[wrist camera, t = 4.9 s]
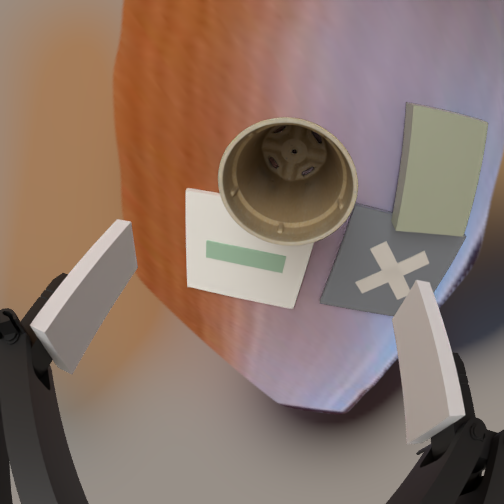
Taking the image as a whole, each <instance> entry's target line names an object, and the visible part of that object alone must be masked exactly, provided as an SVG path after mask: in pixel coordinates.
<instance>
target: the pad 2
mask: <svg viewBox="0 0 504 504" xmlns="http://www.w3.org/2000/svg"><path fill="white" fill-rule="evenodd" d="M392 214H393V212H389V211H385V210H381V209H378V208H374V207H370V206H366V205H362V204H358V203H355V205H354V208H353V211H352V214H351V217H350V220H349V223H348V226H347V228H346V231H345V234H344V237H343V240H342V243H341V245H340V248H339V251H338V254H337V256H336V259H335V262H334V265H333V267H332V270H331V272H330V275H329V278H328V280H327V283H326V285H325V288H324V290H323V293H322V296H321V298H320V303H321V304H326V305H331V306H337V307H342V308H348V309H354V310H359V311H365V312H371V313H377V314H383V315H389V316H395V314H396V312H397V311H398V309H399V308H400V306H401V304H402V303H403V301H404V300H405V298H406V296H407V295H408V293H409V291H410V290H411V288H412V286H413V285H414V283H415V281H416V280H420V281H425V282H430V285H431V288H432V291H433V293H434V291H435V289H436V288H437V286H438V285H439V283H440V282H441V280H442V278H443V277H444V275H445V273H446V272H447V270H448V268H449V267H450V265H451V263H452V262H453V260H454V258H455V256H456V255H457V253H458V251H459V249H460V247H461V246H462V244H463V242H464V240H465V238H466V236H465V234H464V235H463V237H461V236H451V235H440V234H429V233H418V232H406V231H396V230H395V228H394V226H393V223H392V221H391V219H392Z"/></svg>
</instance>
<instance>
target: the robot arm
mask: <svg viewBox="0 0 504 504" xmlns="http://www.w3.org/2000/svg"><path fill="white" fill-rule="evenodd" d="M137 268H138V266H137V260H136V254H135V247H134V240H133V233H132V225H131V222H129V221H124V220H119V219H117V220H116V221H115V222H114V223H113V224H112V225H111V226H110V228H109V229H108V230H107V231H106V232H105V233H104V234H103V235H102V236H101V237H100V238H99V240H98V241H97V242H96V243H95V244H94V245H93V246H92V247H91V249H90V250H89V251H88V252H87V253H86V254H85V255H84V257H83V258H82V259H81V260H80V261H79V262H78V264H77V265H76V266H75V267H74V268H73V270H72V271H71V272H70V273H69V274H65V273H62V274H61V275H59V276H58V277H56V278H55V279H53V280H52V282H51V283H50V284H49V286H48V287H47V288H46V290H44V292H43V293H42V294H41V297H39V298H38V299H37V301H36V302H35V303H34V304H33V306H32V307H31V308H30V310H29V311H28V312H27V314H26V315H25V317H24V318H23V319H22V321H21V322H20V320H19V319H18V317H17V315H16V314H15V312H14V311H13V310H11V309H9V308H7V309H2V310H0V504H13V503H12V495H11V484H10V466H9V461H10V465H11V469H12V474H13V477H14V481H15V485H16V488H17V492H18V495H19V498H20V502H21V504H88V501H87V499H86V497H85V494H84V491H83V489H82V486H81V483H80V481H79V478H78V476H77V472H76V469H75V467H74V464H73V460H72V457H71V454H70V451H69V448H68V444H67V440H66V437H65V433H64V429H63V425H62V421H61V417H60V412H59V408H58V403H57V398H56V393H55V388H54V382H53V376H52V370H51V367H50V363H51V362H52V360H53V361H54V363H55V364H56V365H57V367H58V368H60V369H62V370H64V371H66V372H68V373H70V374H73V372H74V370H75V368H76V366H77V365H78V363H79V361H80V360H81V358H82V356H83V354H84V352H85V351H86V349H87V347H88V346H89V344H90V342H91V340H92V339H93V337H94V335H95V334H96V332H97V330H98V328H99V327H100V325H101V324H102V322H103V320H104V319H105V317H106V316H107V314H108V312H109V311H110V309H111V308H112V306H113V304H114V303H115V301H116V300H117V298H118V297H119V295H120V294H121V292H122V290H123V289H124V287H125V286H126V284H127V283H128V281H129V279H130V278H131V277H132V275H133V274H134V272H135V271H136V269H137ZM392 322H393V328H394V333H395V339H396V345H397V351H398V358H399V365H400V372H401V381H402V389H403V397H404V409H405V421H406V437H407V444H417V443H423V442H425V441H426V440H428V439H430V438H431V444H430V445H428V446H427V447H425V448H423V449H421V450H419V451H418V452H417V453H416V454H417V455H419V454H421V453H423V452H424V453H423V454H422V456H421V457H420V459H419V460H418V462H417V463H416V465H415V466H414V468H413V469H412V470H411V472H410V473H409V475H408V476H407V477H406V479H405V480H404V481H403V483H402V484H401V485H400V487H399V488H398V489H397V491H396V492H395V493H394V494H393V496H392V497H391V498H390V499H389V500H388V502H387V503H386V504H504V430H502V431H501V432H499V433H496V432H493V431H490V430H487V429H486V426H485V424H484V423H483V421H482V420H480V419H478V418H476V417H475V413H474V407H473V402H472V397H471V392H470V388H469V385H468V379H467V376H466V371H465V367H464V363H463V361H462V360H461V358H460V356H459V355H458V353H452V351H451V347H450V344H449V340H448V337H447V333H446V330H445V327H444V323H443V320H442V317H441V314H440V311H439V308H438V305H437V302H436V299H435V296H434V293H433V291H432V288H431V285H430V282H425V281H420V280H416V281H415V283H414V285H413V286H412V288H411V290H410V291H409V293H408V295H407V296H406V298H405V300H404V301H403V303H402V304H401V306H400V308H399V309H398V311H397V312H396V314H395V316H394V317H393V319H392ZM483 470H485V473H484V476H481V474H482V471H483Z"/></svg>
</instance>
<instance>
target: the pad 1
mask: <svg viewBox="0 0 504 504" xmlns="http://www.w3.org/2000/svg"><path fill="white" fill-rule="evenodd" d="M313 244H314V242H313V243H309V244H304V245H299V246H285V245H277V244H273V243H269V242H266V241H263V240H261V239H259V238H257V237H256V236H254V235H251V234H250V233H248V232H247V231H245V230H244V229H243V228H242V227H240V226H239V225H238V224H237V223H236V222H235V221H234V220H233V218H232V217H231V216H230V214H229V213H228V212H227V210H226V208H225V206H224V204H223V202H222V199H221V196H220V193H215V192H210V191H204V190H198V189H191V188H187V189H186V260H187V286H188V287H192V288H196V289H200V290H205V291H209V292H213V293H218V294H222V295H227V296H231V297H236V298H240V299H245V300H250V301H255V302H259V303H264V304H269V305H274V306H279V307H284V308H289V309H293V308H294V305H295V302H296V299H297V295H298V292H299V289H300V286H301V283H302V280H303V277H304V274H305V270H306V267H307V264H308V261H309V257H310V254H311V251H312V247H313Z"/></svg>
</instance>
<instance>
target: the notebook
mask: <svg viewBox="0 0 504 504" xmlns="http://www.w3.org/2000/svg"><path fill="white" fill-rule="evenodd" d="M487 128H488V123H487V122H485V121H483V120H480V119H478V118H474V117H471V116H467V115H463V114H460V113H456V112H452V111H447V110H443V109H439V108H434V107H429V106H425V105H419V104H414V103H409V102H406V115H405V127H404V138H403V147H402V156H401V164H400V171H399V178H398V185H397V191H396V197H395V203H394V209H393V214H392V219H391V221H392V223H393V226H394V228H395V230H396V231H406V232H418V233H429V234H440V235H451V236H461V237H463V235H464V232H465V229H466V226H467V222H468V219H469V215H470V212H471V208H472V204H473V201H474V197H475V193H476V188H477V184H478V180H479V175H480V170H481V165H482V160H483V154H484V148H485V142H486V135H487Z"/></svg>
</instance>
